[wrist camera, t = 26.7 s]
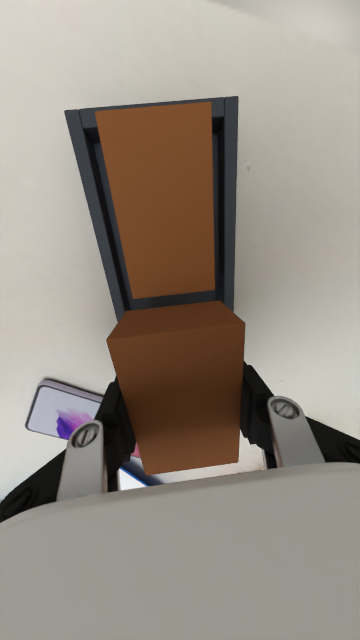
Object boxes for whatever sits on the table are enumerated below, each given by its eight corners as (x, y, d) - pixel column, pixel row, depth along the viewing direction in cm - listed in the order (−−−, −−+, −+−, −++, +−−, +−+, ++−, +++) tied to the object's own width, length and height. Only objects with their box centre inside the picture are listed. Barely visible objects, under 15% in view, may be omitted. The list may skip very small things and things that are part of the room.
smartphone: (37, 381, 17) (173, 424, 20) (43, 375, 18) (172, 417, 21) (21, 430, 19) (147, 461, 22) (27, 422, 20) (148, 454, 23)
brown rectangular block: (140, 288, 14) (132, 299, 11) (115, 151, 11) (93, 110, 8) (204, 281, 15) (215, 290, 11) (199, 144, 11) (212, 100, 8)
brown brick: (150, 420, 13) (145, 476, 10) (125, 310, 10) (105, 339, 7) (221, 411, 13) (238, 463, 10) (220, 300, 10) (246, 323, 7)
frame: (139, 383, 19) (136, 397, 17) (80, 133, 11) (63, 109, 9) (225, 372, 19) (231, 385, 17) (227, 121, 11) (238, 95, 9)
